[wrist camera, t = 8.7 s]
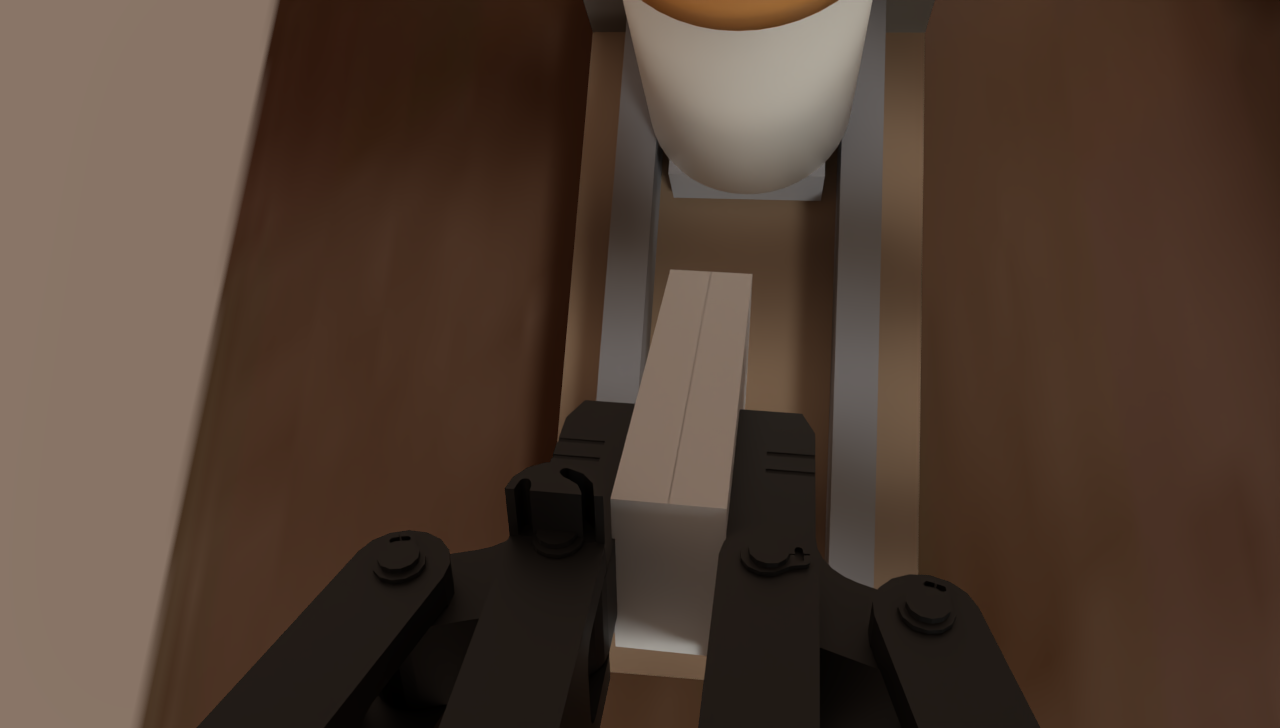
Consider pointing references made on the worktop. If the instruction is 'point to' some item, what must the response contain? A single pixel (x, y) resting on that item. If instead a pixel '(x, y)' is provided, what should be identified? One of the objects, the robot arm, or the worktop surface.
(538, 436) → the worktop surface
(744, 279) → the robot arm
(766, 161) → the knob
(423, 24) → the worktop surface
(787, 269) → the knob mount
